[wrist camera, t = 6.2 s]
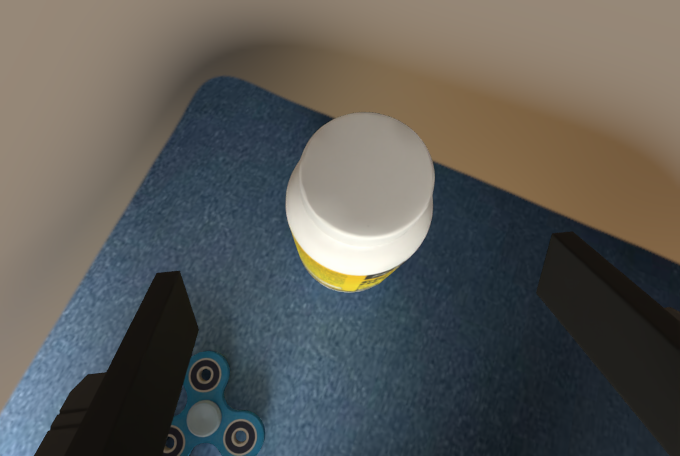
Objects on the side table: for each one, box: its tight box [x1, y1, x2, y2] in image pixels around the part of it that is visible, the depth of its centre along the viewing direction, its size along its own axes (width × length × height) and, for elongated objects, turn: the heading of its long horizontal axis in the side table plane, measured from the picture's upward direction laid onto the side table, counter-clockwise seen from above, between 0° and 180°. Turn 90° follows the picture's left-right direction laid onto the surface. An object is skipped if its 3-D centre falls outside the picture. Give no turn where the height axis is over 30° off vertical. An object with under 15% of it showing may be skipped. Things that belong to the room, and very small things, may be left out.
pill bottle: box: [286, 112, 435, 292], centre depth 18 cm, size 6×6×11 cm
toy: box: [162, 351, 265, 456], centre depth 20 cm, size 6×6×1 cm
